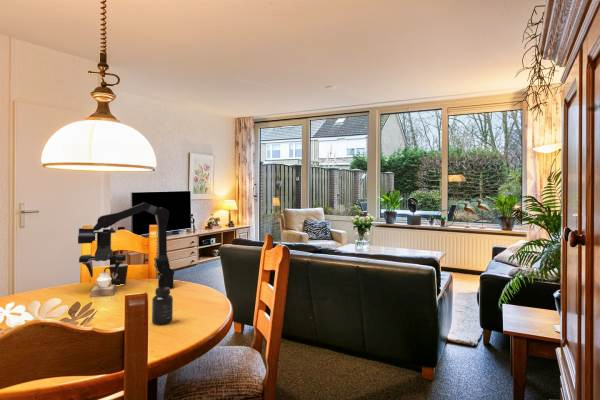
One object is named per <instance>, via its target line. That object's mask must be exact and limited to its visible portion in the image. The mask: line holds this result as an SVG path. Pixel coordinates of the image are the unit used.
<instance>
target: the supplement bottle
mask: <svg viewBox="0 0 600 400" xmlns="http://www.w3.org/2000/svg"><path fill="white" fill-rule="evenodd" d="M154 291H155V292H154V294H155V295H154V296H153V298H152V300H151V323H152V325H155V326H166V325H169V324H170V323H172V322H173V319H174V318H173V317H174V315H173V313H174V311H173V309H174V304H173V303H174V300H173V296H172V295H171V288H169V287H156V288H155V290H154Z"/></svg>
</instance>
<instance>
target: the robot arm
mask: <svg viewBox="0 0 600 400" xmlns="http://www.w3.org/2000/svg"><path fill="white" fill-rule="evenodd" d="M143 212H147V213H149V214H152V215H154V217H155V221H156V226H157V256H156V257H154V258H153V260H154V264H153V266H154V268H155V270H156V271H157V272H158V273H160V275H159V278H158V286H157V288H159V287H169V288H170V289H174V287H175V286H174V275H175V271H174V269H172V268H171V265H170V261H169V260H170V259H169V257H168V254H167V251H168V249H167V245H168V244H167V241H168V237H167V235H168V234H167V226H168V222H169V218H170V212H169V210H168V209H167V208H165V207H158V206H155V205H152V204H150V203H148V202H142V203H139V204H137V205H134V206H132V207H129V208H127V209H123V210H121V211H118V212H114V213H108V214H104V215H101V216H98V218H97V220H96V224H95V225H93V227H92V228H83V227H82V228H78V235H77V244H78V245H80V244H93V242H96V250H95V253H94V255H92V254H82V255H80V256H79V258H78V263H80V264H82V265H85V266H86V267H87V270H88V273H89V276H90V277H91V278H93V277H94V269H93V267H94V265H93V261H94V262H101V261H102V262H106V261H109V260H110V261H113V260H116V261H115V263H114V264H115V270H114V276H115V275H116V272H117V270H118V267H119V265H120V264H124V262H125V261H127V259H128V256H127V253H117V254H116V255H114V254H113V253H114V251H113V249H112V233H113V234H115V233H117V231H116V230H115V229H114V228H113V227H112V226H114V225H115V224H117V223H118V222H119V221H122V220H124V219H127V218H130V217H132V216H135V215H137V214H139V213H143ZM100 230H101V231H100Z"/></svg>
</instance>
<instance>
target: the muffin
mask: <svg viewBox="0 0 600 400" xmlns="http://www.w3.org/2000/svg"><path fill="white" fill-rule="evenodd" d="M111 280H112V278H111V276H110V273H109V272H106V271H105V272H104V271H103V272H100V273H99V276H98V277H97V278H96V283H97V286H99V287H100V288H105V287H108V286H109V285H111Z"/></svg>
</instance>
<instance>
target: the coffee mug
mask: <svg viewBox="0 0 600 400" xmlns="http://www.w3.org/2000/svg"><path fill="white" fill-rule="evenodd" d="M128 268H129V264H128V263H120V265H119V267H118V270H117V272H116V275H115V276H114V270H115V263H114V264H110V265H108V266H107V267H105V268H104V269H103V272H106V270H107V269H108V270H109V276H110V277H111V278H112V280H111V282H110V285H111V284H112V285H120V284H125V283H126V282H127V276H128ZM125 285H126V284H125Z"/></svg>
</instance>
